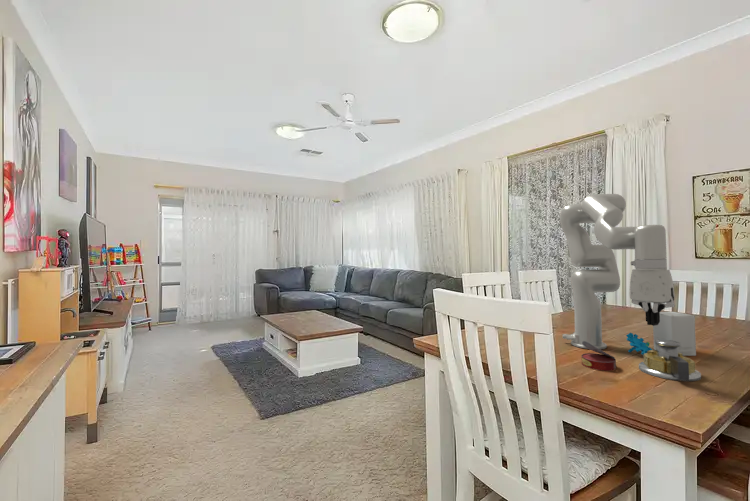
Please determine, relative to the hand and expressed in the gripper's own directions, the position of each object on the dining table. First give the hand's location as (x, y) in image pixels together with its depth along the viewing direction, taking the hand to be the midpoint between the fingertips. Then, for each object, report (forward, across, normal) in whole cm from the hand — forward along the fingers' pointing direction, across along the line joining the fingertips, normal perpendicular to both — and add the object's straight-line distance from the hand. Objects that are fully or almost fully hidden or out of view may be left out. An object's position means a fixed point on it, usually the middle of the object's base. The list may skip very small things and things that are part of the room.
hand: (652, 324), depth 103 cm
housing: (+16, 0, +10) cm, 19 cm away
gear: (+17, -14, +24) cm, 33 cm away
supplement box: (+16, -9, +37) cm, 42 cm away
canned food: (+17, -15, -2) cm, 23 cm away
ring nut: (+15, +1, +7) cm, 17 cm away
